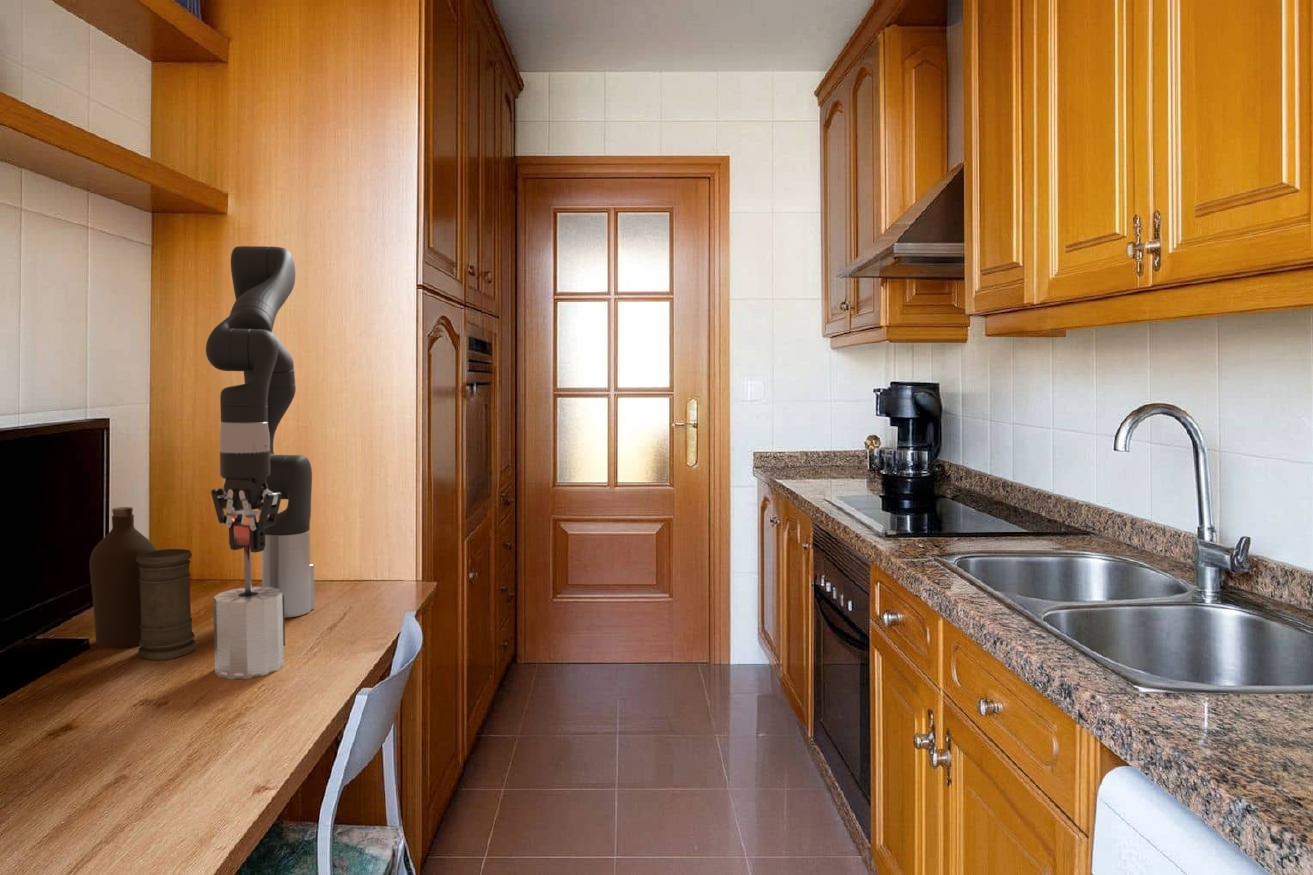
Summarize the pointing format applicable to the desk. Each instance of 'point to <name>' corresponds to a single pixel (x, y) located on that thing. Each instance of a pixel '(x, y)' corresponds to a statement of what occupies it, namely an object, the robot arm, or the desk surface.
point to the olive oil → (118, 582)
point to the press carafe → (248, 632)
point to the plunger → (244, 539)
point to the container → (165, 604)
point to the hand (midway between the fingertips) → (247, 549)
